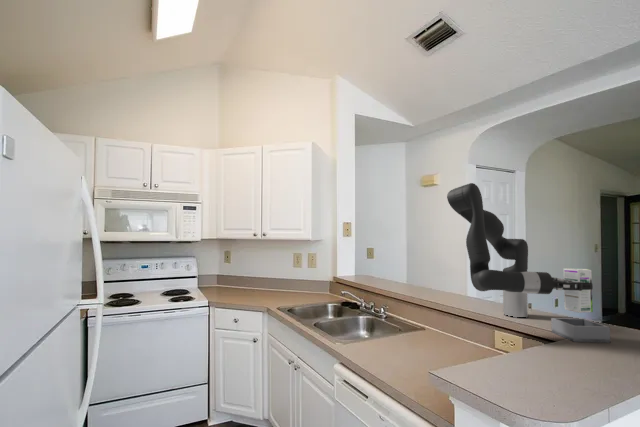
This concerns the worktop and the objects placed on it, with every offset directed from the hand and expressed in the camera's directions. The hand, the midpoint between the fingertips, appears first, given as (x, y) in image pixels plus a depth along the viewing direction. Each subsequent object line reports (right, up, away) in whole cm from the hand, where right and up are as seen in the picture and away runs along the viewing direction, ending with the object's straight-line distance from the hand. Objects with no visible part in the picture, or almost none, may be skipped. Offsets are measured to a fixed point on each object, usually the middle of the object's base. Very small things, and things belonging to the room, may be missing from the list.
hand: (584, 284), depth 121 cm
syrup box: (-2, -9, 0) cm, 9 cm away
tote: (-2, -18, -1) cm, 18 cm away
